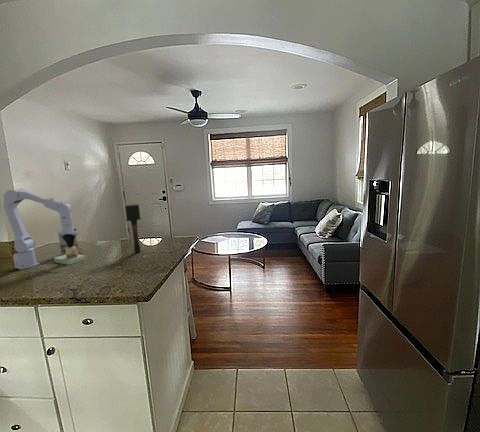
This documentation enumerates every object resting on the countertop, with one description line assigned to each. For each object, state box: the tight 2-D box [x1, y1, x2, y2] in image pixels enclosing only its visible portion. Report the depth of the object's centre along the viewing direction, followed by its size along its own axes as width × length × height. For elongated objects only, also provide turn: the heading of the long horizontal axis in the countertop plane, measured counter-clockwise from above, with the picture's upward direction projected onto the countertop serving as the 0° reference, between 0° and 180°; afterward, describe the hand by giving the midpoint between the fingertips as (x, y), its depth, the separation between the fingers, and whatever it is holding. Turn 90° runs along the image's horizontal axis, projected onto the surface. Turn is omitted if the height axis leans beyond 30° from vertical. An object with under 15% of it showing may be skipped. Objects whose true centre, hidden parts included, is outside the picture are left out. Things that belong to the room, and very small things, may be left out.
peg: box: [65, 246, 78, 259], centre depth 164 cm, size 6×6×8 cm
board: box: [53, 253, 87, 266], centre depth 166 cm, size 10×15×2 cm, turn 61°
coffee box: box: [58, 228, 80, 256], centre depth 180 cm, size 9×6×16 cm
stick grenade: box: [124, 204, 142, 254], centre depth 174 cm, size 8×9×30 cm
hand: (70, 247), depth 164 cm, fingers closed
